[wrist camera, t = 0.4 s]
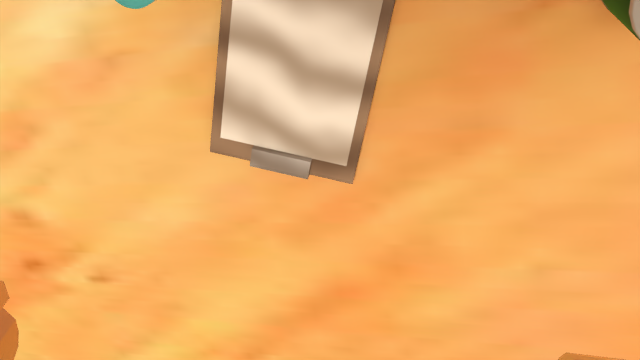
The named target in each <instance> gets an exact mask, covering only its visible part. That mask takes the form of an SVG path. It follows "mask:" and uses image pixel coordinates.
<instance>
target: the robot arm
mask: <svg viewBox="0 0 640 360" xmlns="http://www.w3.org/2000/svg"><path fill="white" fill-rule="evenodd" d="M8 299H9V296H8V293H7V290H6V287H5V284H4V282H3V281H0V360H14V357H15V354H16V351H17V348H18V334H19V331H18V327H17V324H16V320H15V319H14V318H13V317H12V316H11V315H10V314H9V313H8V312H7V311H6V310H5V309H3V306H4V305H5V303H6V302H7V301H8ZM558 360H624V359H616V358H608V357H599V356H591V355H582V354H574V353H565V354H563V355H562V356H561V357H559V359H558Z"/></svg>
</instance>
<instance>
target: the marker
mask: <svg viewBox="0 0 640 360" xmlns="http://www.w3.org/2000/svg"><path fill="white" fill-rule="evenodd" d="M116 1H117V2H118V3H119V4H121V5H123V6H125V7H128V8H132V9H139V8H143V7H145V6H147V5H149V4H150V3H152V2H154V1H155V0H116Z"/></svg>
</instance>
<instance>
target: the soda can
mask: <svg viewBox="0 0 640 360" xmlns="http://www.w3.org/2000/svg"><path fill="white" fill-rule="evenodd" d="M602 2H603V3H604V5H605V6H606V8H607V9H608V10H609V11H610V12H611V13H612V14H613V15H614V16H615V17H617V18H618V19H619V20H620V21H621V22H622V23H623V24H624V25H625V26H626V27H627V28H628V29H629V30H630V31H631V32H632V33H633V34H634V35H635V36H636V37H637V38H638V39H639V40H640V0H602Z"/></svg>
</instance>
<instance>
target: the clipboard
mask: <svg viewBox="0 0 640 360" xmlns="http://www.w3.org/2000/svg"><path fill="white" fill-rule="evenodd" d="M394 3H395V0H222V7H221V19H220V32H219V45H218V57H217V70H216V83H215V95H214V108H213V121H212V133H211V146H210V152H214V153H218V154H223V155H227V156H231V157H236V158H240V159H245V160H249V161H250V166H252V167H257V168H261V169H265V170H270V171H274V172H278V173H283V174H287V175H291V176H296V177H300V178H305V179H308V177H309V174H310V175H315V176H319V177H323V178H328V179H332V180H336V181H341V182H345V183H349V184H353V180H354V175H355V171H356V167H357V162H358V158H359V154H360V150H361V145H362V141H363V137H364V132H365V128H366V124H367V119H368V115H369V111H370V106H371V102H372V98H373V94H374V89H375V85H376V81H377V76H378V72H379V68H380V63H381V59H382V55H383V51H384V46H385V42H386V38H387V33H388V29H389V25H390V20H391V16H392V12H393V8H394Z"/></svg>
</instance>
